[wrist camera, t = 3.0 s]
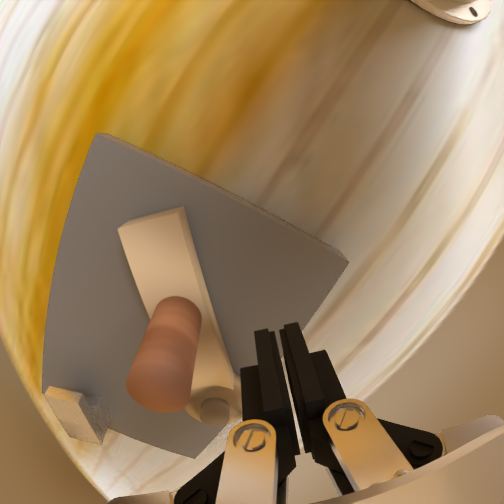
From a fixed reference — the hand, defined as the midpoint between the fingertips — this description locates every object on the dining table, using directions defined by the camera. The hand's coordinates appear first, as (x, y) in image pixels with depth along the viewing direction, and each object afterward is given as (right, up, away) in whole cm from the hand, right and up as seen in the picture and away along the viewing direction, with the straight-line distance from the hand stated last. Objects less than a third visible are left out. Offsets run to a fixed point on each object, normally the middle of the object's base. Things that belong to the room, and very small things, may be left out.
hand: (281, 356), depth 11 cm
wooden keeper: (-14, -7, +8) cm, 17 cm away
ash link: (-4, -1, +6) cm, 7 cm away
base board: (-8, -2, +8) cm, 11 cm away
